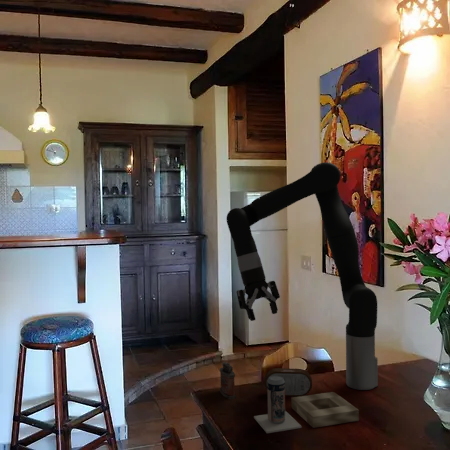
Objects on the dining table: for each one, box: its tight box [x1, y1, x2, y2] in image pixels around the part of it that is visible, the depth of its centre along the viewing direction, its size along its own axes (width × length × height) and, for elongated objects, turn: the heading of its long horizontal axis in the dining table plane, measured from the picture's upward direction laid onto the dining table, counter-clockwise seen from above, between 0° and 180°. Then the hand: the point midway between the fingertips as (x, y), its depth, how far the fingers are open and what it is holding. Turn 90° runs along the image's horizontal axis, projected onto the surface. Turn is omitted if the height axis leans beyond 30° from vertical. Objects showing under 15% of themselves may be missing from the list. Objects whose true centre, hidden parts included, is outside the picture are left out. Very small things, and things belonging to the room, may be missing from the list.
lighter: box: [219, 361, 236, 400], centre depth 156 cm, size 8×3×10 cm, turn 23°
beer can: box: [266, 376, 286, 424], centre depth 135 cm, size 5×5×12 cm
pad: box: [253, 410, 302, 434], centre depth 135 cm, size 10×10×1 cm
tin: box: [264, 367, 313, 397], centre depth 155 cm, size 15×3×8 cm, turn 84°
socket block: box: [290, 391, 360, 429], centre depth 141 cm, size 14×14×3 cm
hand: (264, 317), depth 157 cm, fingers open, 8 cm apart
